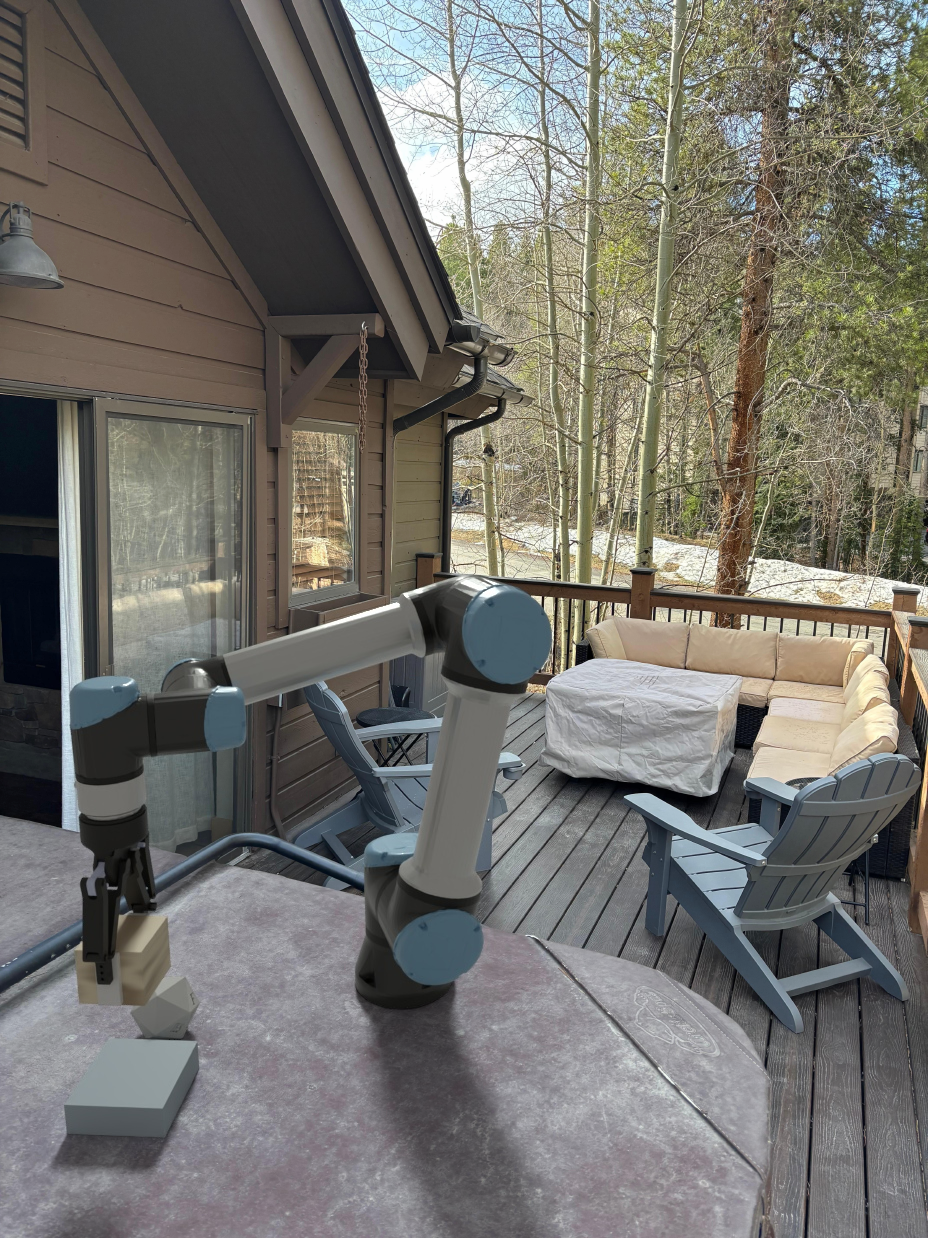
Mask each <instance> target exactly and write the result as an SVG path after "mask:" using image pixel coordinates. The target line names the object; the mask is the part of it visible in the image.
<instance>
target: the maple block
mask: <svg viewBox="0 0 928 1238" xmlns="http://www.w3.org/2000/svg"><path fill="white" fill-rule="evenodd" d="M168 921H169V920H168V916H164V915H163V916H162V915H149V916H140V915H127V914H119V920H118V930H117V939H116V949H115V952H119V954H120V967H121V979H122V991H123V1003H122V1005H121V1006H131V1007H132V1006H145V1005H146V1004H147V1002H148V1001H149V999H150V998H151V996H152V995H153V993H154V992H155V990H156V989H157V987H158V986H159V984H160V982H161V981H162V979H163V978H164V977H166V975H167V973H168V972H169V970H170V969H171V967H172V965H171V964H172V962H171V948H170V947H171V946H170V934H169V922H168ZM74 961H75V970H76V972H75V973H76V984H77V993H78V994H77V995H78V1004H79V1005H81V1004H83V1005H84V1004H85V1005H86V1004H87V1005H98V996H97V985H96V973H95V962H83V960H82V941H81V942H80V943H79V944H78V945H77V946H76V947H75V948H74Z"/></svg>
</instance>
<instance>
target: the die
mask: <svg viewBox="0 0 928 1238" xmlns="http://www.w3.org/2000/svg"><path fill="white" fill-rule="evenodd" d="M200 1004H201V1001H200V1000H199V998H198V996H197V995H196V992H195V991H194V989H193V988H192V986H191V984H190V982H189V980H188V979H187V977H186V976H164V978H163V979H162V981H161V982H160V984H159V986H158V987H157V989H156V990H155V992H154V993H153V995H152V996H151V998H150V999H149V1001H148V1002H147V1004H146V1005H145V1006H133V1007H132V1008H131V1010H130V1013H129V1014H130V1015H131V1017H132V1019H133V1020H134V1021H135V1024H136V1025H137V1026H138V1028H139V1030H140V1032H141V1033H142V1035H143V1036H144V1038H145V1039H150V1040H169V1039H170V1040H174V1039H175V1040H177V1039H178V1040H179V1039H181V1040H182V1039H183V1038H184V1036H185V1035H186V1032H187V1031H188V1029H189V1025H190V1024H191V1022H192V1020H193V1018H194V1016H195V1014H196V1013H197V1010H198V1008H199V1006H200Z"/></svg>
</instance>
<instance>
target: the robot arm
mask: <svg viewBox="0 0 928 1238" xmlns="http://www.w3.org/2000/svg"><path fill="white" fill-rule="evenodd" d="M542 606H543V605H541V604H540V602H538V601H537V600H536V599H535V598H534V597H533V596H532V595H529V594H528V592H526V591H524V590H522V589H521V588H519V587H517V586H513V585H510V584H507V583H504V582H501V581H498V580H495V579H493V578H491V577H489V576H485V575H481V574H465V575H464V574H462V575H459V576H455V577H450V578H448V579H447V578H446V579H444V580H440V581H437V582H434V583H431V584H428V585H425V586H422V587H419V588H416V589H413V590H409V591H405V592H403V593H400V595H399V597H398V598H397V601H396V602H395V603H394V602H393V603H391V604H388V605H384V606H380V607H377V608H374V609H371V610H368V611H363V612H361V613H360V612H359V613H357V614H354V615H351V616H347V617H344V618H340V619H338V620H337V619H336V620H335V621H330V622H327V623H324V624H320V625H317V626H314V627H311V628H307V629H304V630H301V631H300V630H299V631H297V632H294V633H291V634H288V635H284V636H281V637H277V638H274V639H270V640H266V641H263V642H260V643H257V644H254V645H250V646H247V647H243V648H241V649H238V650H234V651H233V650H232V651H230V652H228V653H224V654H221V655H218V656H213V657H210V658H207V659H199V658H195V657H194V658H193V657H190V658H189V657H188V658H183V659H181V660H178V661H176V662H175V663H174V664H172V665H171V666H170V667H168V669H167V671H166V672H165V673H164V674H165V675H164V677H163V679H162V682H161V686H160V692H155V693H154V692H151V693H149V692H148V693H147V692H143V693H142V692H141V690H140V689H139V686H138V682H137V681H136V679H134V678H132V677H130V676H124V675H121V676H114V675H105V676H103V675H102V676H98V677H92V678H87V679H85V680H82V681H80V682H78V683H76V684H75V685H74V686H73V687H72V688H71V690H70V692H69V696H68V697H69V702H68V703H69V730H70V731H69V732H70V741H71V747H72V748H71V749H72V759H73V769H74V778H75V780H74V783H73V787H74V788H75V789H76V799H77V809H78V811H79V812H80V813H79V815H78V827H79V828H78V829H79V837H80V838H79V839H80V840H79V841H80V843H81V845H82V846H83V847H85V848H86V849H88V850H89V851H91V852H92V853H93V863H92V874H91V875H90V876H88V877H87V876H83V877H81V879H80V882H79V887H80V892H81V893H80V894H81V899H82V902H81V903H82V911H81V912H82V920H81V921H82V922H81V923H82V927H81V928H82V932H81V933H82V938H81V939H82V940H81V942H82V960H83V962H95V973H96V985H97V996H98V1004H97V1005H98V1006H108V1007H109V1006H111V1007H112V1006H115V1007H116V1006H117V1007H121V1006H123V1005H122V1003H123V991H122V979H121V967H120V954H119V952H115V949H116V939H117V930H118V920H119V915H120V908H121V907H120V906H121V898H122V897H124V899H125V902H126V905H127V907H128V910H129V911H132V912H128V913H126V915H140V916H150V913H149V912H156V911H157V908H158V907H157V906H158V902H156V901H155V902H152V901H151V900H155V899H156V897H157V888H156V882H155V875H154V871H153V870H154V869H153V863H152V857H151V850H150V831H149V822H148V807H147V805H146V804H145V803H146V802H147V799H148V797H147V787H146V786H147V785H146V775H145V767H144V764H145V763H144V758H155V757H162V756H163V757H164V756H173V755H184V754H196V753H205V752H213V753H215V752H216V753H217V752H220V751H222V750H223V751H224V750H229V749H235V748H240V747H242V746H243V745H244V744H245V742H246V740H247V731H248V730H247V714H246V706H248V705H251V704H254V703H257V702H260V701H264V700H266V699H267V700H268V699H270V698H273V697H277V696H279V695H283V694H286V693H289V692H292V691H295V690H299V689H301V688H305V687H308V686H311V685H315V684H318V683H322V682H324V681H325V682H326V681H327V680H331V679H335V678H338V677H340V676H343V675H347V674H351V673H353V672H356V671H360V670H363V669H366V668H369V667H372V666H376V665H379V664H382V663H385V662H389V661H391V660H395V659H397V658H401V657H404V656H407V655H411V654H412V655H415V656H416V657H418V658H425V657H427V656H431V655H435V654H442V653H444V655H443V660H442V665H441V671H440V678H441V679H442V680H443V682H444V683H445V685H446V687H447V690H448V692H447V697H446V701H445V706H444V711H443V716H442V721H441V725H440V729H439V735H438V740H437V744H436V749H435V754H434V757H433V762H432V763H433V764H432V767H431V772H430V777H429V782H428V785H427V790H426V795H425V800H424V806H423V810H422V814H421V819H420V823H419V827H418V828H419V829H418V832H399V833H398V832H397V833H391V834H387V835H383V836H380V837H378V838H375V839H373V840H371V841H370V842H369V843H368V844H367V845H366V847H365V849H364V853H363V862H362V867H363V880H364V881H363V885H364V887H363V889H364V890H363V891H364V923H365V926H364V928H365V931H364V932H365V935H364V938H363V941H362V943H361V947H360V950H359V953H358V955H357V956H358V957H357V959H356V963H355V967H354V984H355V988H356V990H357V991H358V993H359V995H360V996H361V997H362V998H364V999H365V1000H366V1001H368V1002H369V1003H372V1004H374V1005H377V1006H380V1007H384V1008H389V1009H397V1010H398V1009H413V1008H419V1007H422V1006H426V1005H429V1004H431V1003H433V1002H435V1001H437V1000H438V999H440V998H442V997H443V996H444V995H445V994H446V993H447V992H448V991H449V990H450V988H451V986H452V984H453V982H454V981H456V980H458V979H459V978H460V976H462V975H463V974H466V973H469V971H470V970H471V969H472V968H474V966H475V964H477V962H478V960H479V959H480V956H481V955H482V952H483V948H484V942H485V938H484V932H483V927H482V924H481V923H480V921H479V920H478V918H477V912H478V908H479V905H480V904H479V902H480V898H481V896H482V895H481V893H482V890H483V880H482V879H481V878H480V876H479V875H478V873H477V872H476V866H477V860H478V856H479V851H480V848H481V842H482V838H483V833H484V828H485V825H486V819H487V816H488V812H489V806H490V803H491V798H492V793H493V789H494V784H495V780H496V775H497V771H498V766H499V761H500V758H501V753H502V748H503V743H504V740H505V735H506V731H507V727H508V721H509V717H510V712H511V709H512V708H511V707H512V705H513V704H514V703H515V702H516V701H517V700H519V699H521V698H523V697H524V696H525V695H527V694H526V693H527V690H528V686H529V680H530V679H531V678H532V677H533V676H534V675H535V674H536V673H537V672H538V671H540V670H542V668H543V667H544V665H545V663H546V661H547V660H548V658H549V656H550V653H551V649H552V644H553V632H552V626H551V622H550V618H549V616H548V614H547V613H546V611H545V609H544V607H542ZM108 888H114V889H108ZM115 888H117V889H115Z"/></svg>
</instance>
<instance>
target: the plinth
mask: <svg viewBox="0 0 928 1238" xmlns="http://www.w3.org/2000/svg"><path fill="white" fill-rule="evenodd" d="M199 1060H200V1058H199V1042H198V1040H179V1039H178V1040H177V1039H175V1040H174V1039H170V1040H169V1039H146V1038H145V1039H144V1038H143V1039H142V1038H120V1037H119V1038H117V1037H111V1038H110V1037H108V1039H106V1042H105V1043H104V1044H103V1046H102V1047H101V1049H100V1050H99V1052H98V1053H97V1055H96V1057H94V1059H93V1061H92V1062H91V1064H90V1065H89V1066H88V1069H87V1070H86V1072H85V1073H84V1075H82V1077H81V1079H80V1080H79V1082H78V1083H77V1085H76V1086H75V1088H74V1089H73V1090H72V1092H71V1093H70V1095H69V1097H68V1098H67V1100H66V1101H65V1103H64V1104H63V1108H64V1118H65V1127H66V1134H67V1135H87V1136H88V1135H90V1136H112V1137H113V1136H114V1137H115V1136H117V1137H118V1136H119V1137H139V1138H143V1137H144V1138H163V1139H164V1138H166V1136H167V1134H168V1132H169V1130H170V1128H171V1126H172V1124H173V1122H174V1120H175V1118H176V1116H177V1114H178V1113H179V1109H180V1108H181V1106H182V1103H183V1102H184V1099H185V1098H186V1095H187V1093H188V1092H189V1089H190V1087H191V1085H192V1084H193V1081H194V1080H195V1077H196V1076H197V1074H198V1071H199V1069H200V1061H199Z"/></svg>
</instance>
